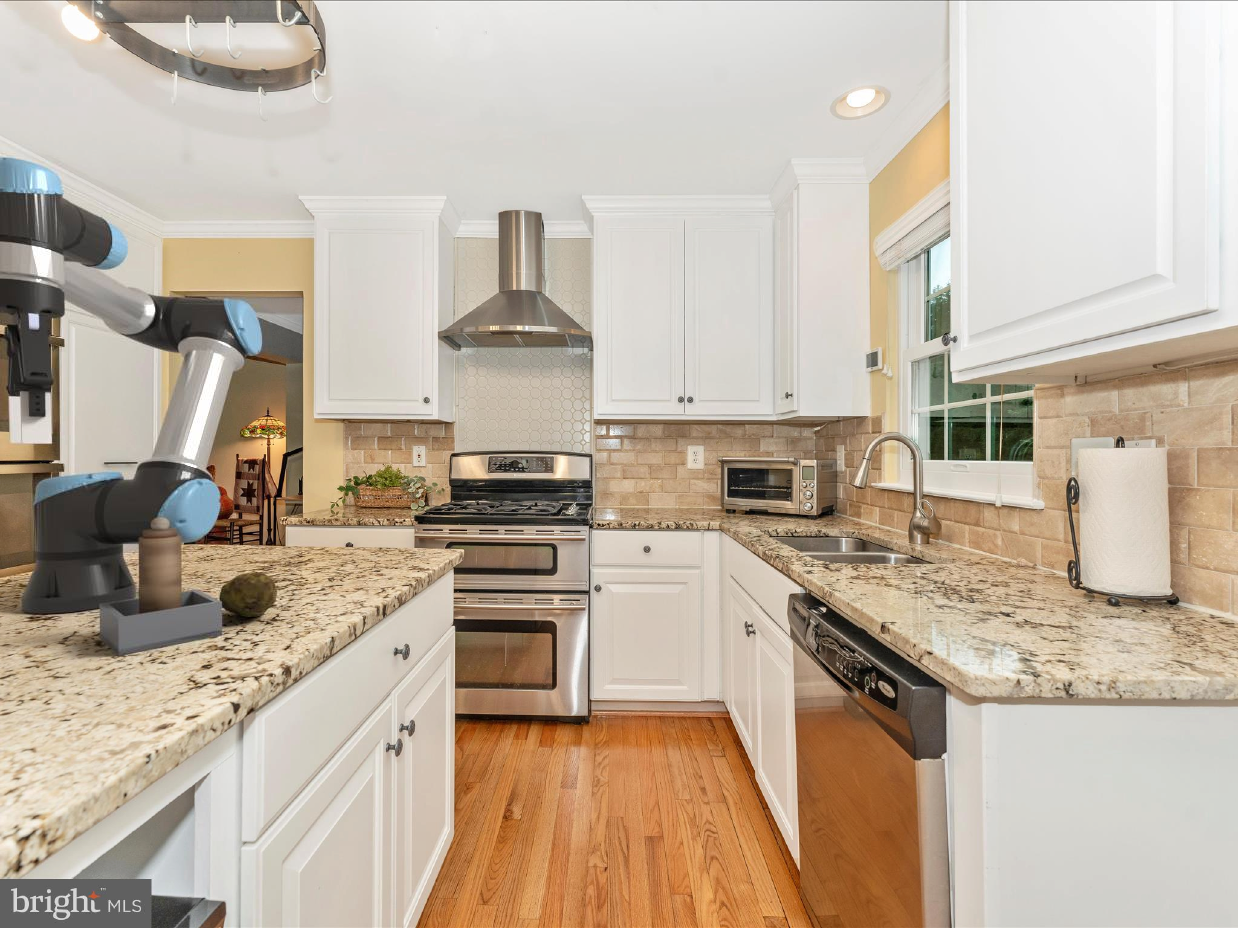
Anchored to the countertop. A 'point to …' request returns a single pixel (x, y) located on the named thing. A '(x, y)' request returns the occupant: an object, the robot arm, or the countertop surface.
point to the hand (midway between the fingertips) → (29, 443)
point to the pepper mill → (160, 568)
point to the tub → (159, 623)
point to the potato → (248, 594)
